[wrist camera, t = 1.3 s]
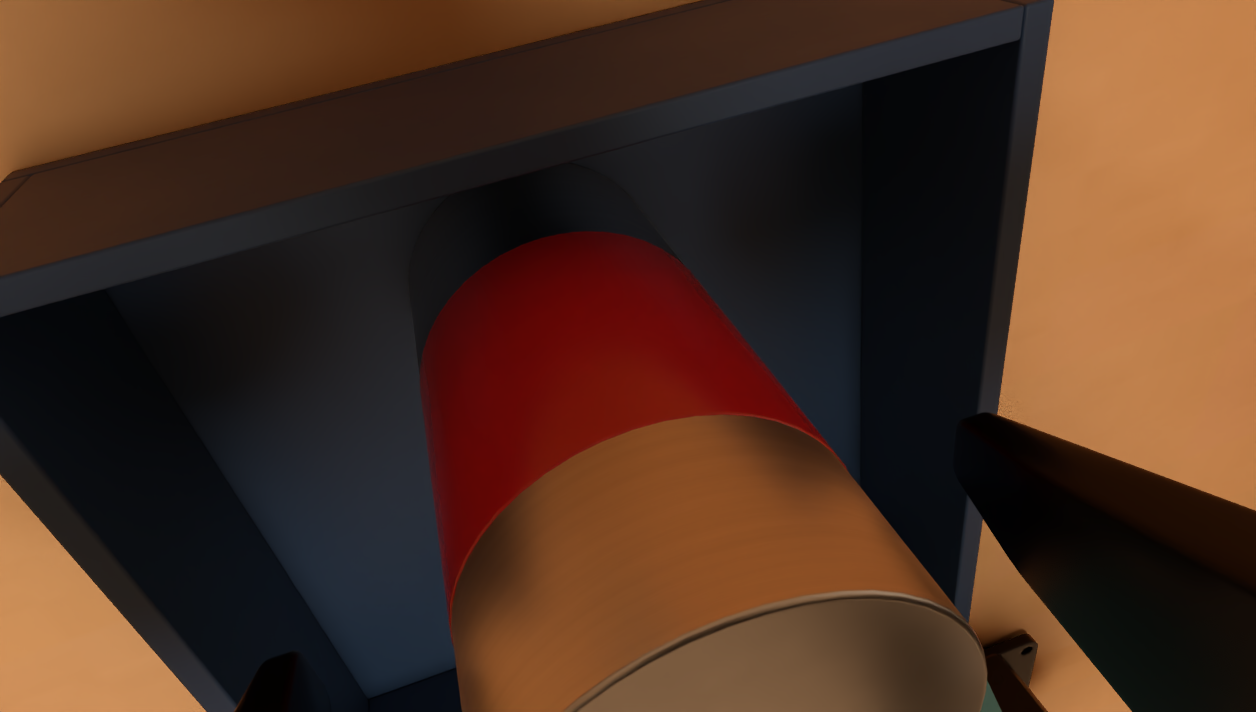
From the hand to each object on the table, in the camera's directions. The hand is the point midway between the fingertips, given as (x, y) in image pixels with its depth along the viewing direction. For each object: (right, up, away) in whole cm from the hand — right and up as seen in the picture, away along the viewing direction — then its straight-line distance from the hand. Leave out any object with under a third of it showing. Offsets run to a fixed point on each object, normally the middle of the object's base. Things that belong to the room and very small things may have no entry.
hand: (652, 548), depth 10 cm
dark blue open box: (-2, +2, +9) cm, 9 cm away
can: (-2, +4, +6) cm, 8 cm away
